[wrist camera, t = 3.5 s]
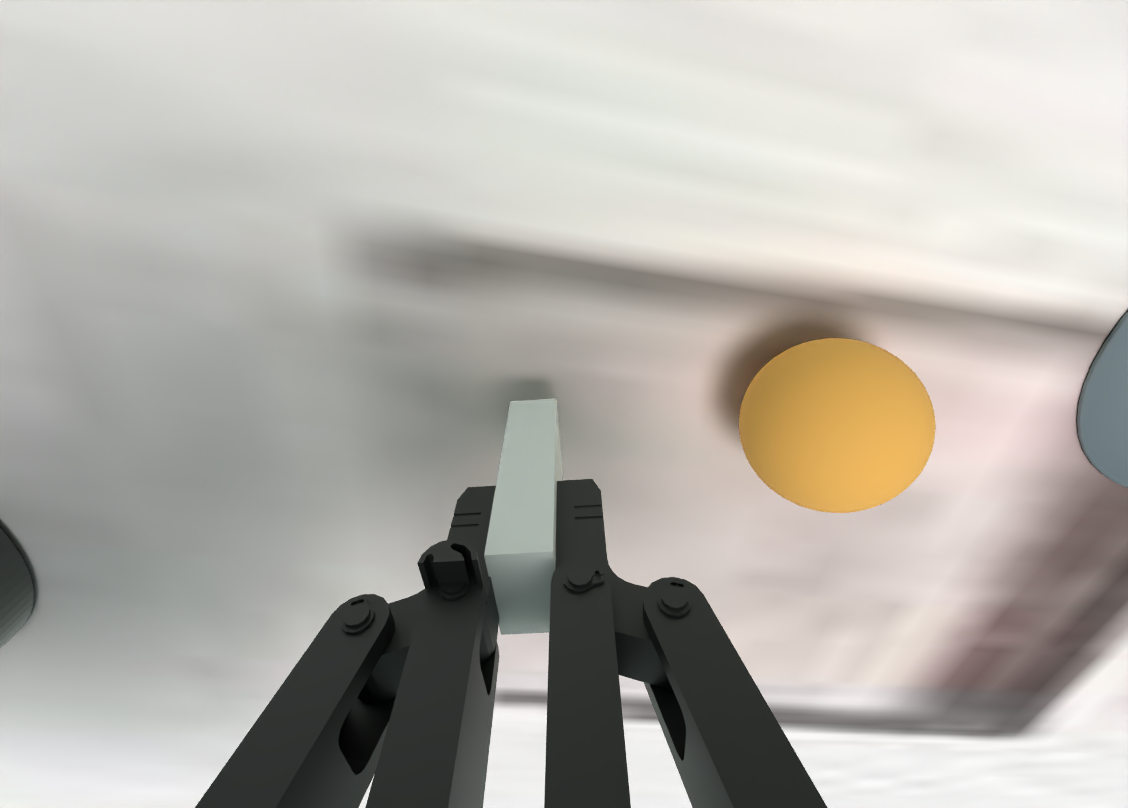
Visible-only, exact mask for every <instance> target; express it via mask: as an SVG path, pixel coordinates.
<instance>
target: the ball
mask: <svg viewBox="0 0 1128 808" xmlns="http://www.w3.org/2000/svg"><path fill="white" fill-rule="evenodd" d="M739 431H740V438H741V443H742V447H743V450H744V452H745V455H746V457H747V459H748V461H749V463H750V465H751V467H752V468H753V470H754V471H755V472H756V474H757V475H758V476H759V478H760V479H761V480H762V481H763V482H764V483H765V484H766V485H767V486H768V487H769V488H770V489H772V490H773V491H775V492H776V493H777V494H779V495H780V496H782V497H783V498H785V499H787V500H789V501H791V502H793V503H795V504H797V505H799V506H802V507H805V508H809V509H812V510H817V511H822V512H832V513H848V512H856V511H861V510H865V509H869V508H872V507H875V506H878V505H881V504H883V503H885V502H887V501H889V500H891V499H892V498H894V497H896V496H897V495H899V494H900V493H901V492H903V491H904V490H905V489H906V488H907V487H909V486H910V485H911V484H912V482H913V481H914V480H915V479H916V478H917V477H918V476H919V474H920V473H921V472H922V470H923V468H924V467H925V465H926V463H927V461H928V458H929V456H930V454H931V451H932V448H933V444H934V437H935V416H934V410H933V406H932V403H931V400H930V397H929V395H928V393H927V391H926V389H925V387H924V385H923V384H922V382H921V381H920V379H919V378H918V377H917V375H916V374H915V373H914V372H913V371H912V370H911V369H910V368H909V367H908V366H907V365H906V364H905V363H904V362H903V361H902V360H900V359H899V358H897V357H896V356H894V355H893V354H891V353H889V352H888V351H886V350H884V349H882V348H880V347H877V346H875V345H872V344H870V343H866V342H863V341H859V340H853V339H845V338H826V339H818V340H812V341H808V342H804V343H801V344H799V345H796V346H793V347H791V348H789V349H787V350H785V351H784V352H782V353H780V354H779V355H777V356H776V357H774V358H773V359H772V360H770V361H769V362H768V363H767V364H766V365H765V366H764V367H763V368H762V369H761V370H760V371H759V372H758V373H757V374H756V376H755V377H754V378H753V380H752V381H751V383H750V385H749V387H748V389H747V391H746V393H745V395H744V398H743V401H742V404H741V409H740V416H739Z"/></svg>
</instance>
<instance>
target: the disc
mask: <svg viewBox="0 0 1128 808" xmlns="http://www.w3.org/2000/svg"><path fill="white" fill-rule="evenodd" d="M1077 427H1078V437H1079V440H1080V443H1081V446H1082V449H1083V451H1084V453H1085V454H1086V456H1087V458H1088V459H1089V461H1090V462H1091V463H1092V464H1093V465H1094V466H1095V467H1096V468H1097V469H1098V470H1099V471H1100V472H1101V473H1102V474H1103V475H1105V476H1106V477H1108V478H1110V479H1111V480H1113V481H1114V482H1116V483H1117V484H1120V485H1122V486H1125V487H1127V488H1128V311H1127V313H1126V314H1125V315H1124V316H1123V317H1122V318H1121V320H1120V321H1119V322H1118V324H1117V325H1116V327H1115V328H1114V330H1113V331H1112V332H1111V334H1110V335H1109V337H1108V338H1107V339H1106V341H1105V342H1104V344H1103V346H1102V348H1101V349H1100V351H1099V353H1098V355H1097V356H1096V358H1095V360H1094V362H1093V363H1092V366H1091V368H1090V371H1089V373H1088V375H1087V378H1086V380H1085V382H1084V385H1083V389H1082V393H1081V396H1080V400H1079V405H1078V415H1077Z"/></svg>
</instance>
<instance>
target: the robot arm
mask: <svg viewBox="0 0 1128 808" xmlns="http://www.w3.org/2000/svg"><path fill="white" fill-rule="evenodd" d="M418 566H419V570H420V573H421V576H422V579H423V583H424V586H425V589H424V590H422V591H421V592H419V593H418V594H415V595H413V596H410V597H408V598H405V599H402V600H399V601H396V602H393V603H390V604H388V603H387V602H386V601H385V599H384V598H383V597H380V596H377V595H375V594H364V595H360V596H357V597H354V598H351V599H350V600H348V601H347V602H345V603H343V604H342V605H340V606H339V607H338V608H337V610H336V611H335V612H334V613H333V614H332V615H331V616H330V618H329V619H328V621H327V622H326V623H325V625H324V626H323V628H322V629H321V630H320V632H319V633H318V635H317V636H316V638H315V639H314V640H313V642H312V643H311V645H310V646H309V647H308V649H307V650H306V652H305V653H304V654H303V656H302V657H301V659H300V660H299V662H298V663H297V664H296V666H295V667H294V669H293V670H292V671H291V673H290V674H289V676H288V677H287V678H286V680H285V681H284V683H283V684H282V686H281V687H280V688H279V690H278V691H277V693H276V694H275V695H274V697H273V698H272V700H271V701H270V702H269V704H268V705H267V707H266V708H265V710H264V711H263V712H262V714H261V715H260V717H259V718H258V719H257V721H256V722H255V724H254V725H253V727H252V728H251V729H250V731H249V732H248V734H247V735H246V736H245V738H244V739H243V741H242V742H241V743H240V745H239V746H238V748H237V749H236V751H235V752H234V753H233V755H232V756H231V758H230V759H229V760H228V762H227V763H226V765H225V766H224V767H223V769H222V770H221V772H220V773H219V775H218V776H217V777H216V779H215V780H214V782H213V783H212V784H211V786H210V787H209V789H208V790H207V792H206V793H205V794H204V796H203V797H202V799H201V800H200V801H199V803H198V804H197V806H196V807H195V808H358V807H359V805H360V803H361V801H362V799H363V797H364V795H365V793H366V790H367V788H368V786H369V784H370V782H371V780H372V778H373V776H374V779H373V782H372V786H371V789H370V793H369V797H368V800H367V804H366V808H483V799H484V790H485V781H486V772H487V763H488V754H489V745H490V736H491V727H492V718H493V708H494V699H495V690H496V681H497V672H498V663H499V650H498V644H497V633H498V625H499V627H500V631H501V635H502V634H523V633H544V632H549V666H548V701H547V736H546V772H545V807H544V808H631V805H630V794H629V783H628V772H627V762H626V751H625V740H624V729H623V718H622V707H621V696H620V685H619V675H621V676H625V677H628V678H632V679H635V680H638V681H642V682H644V684H645V687H646V689H647V692H648V694H649V697H650V699H651V702H652V705H653V707H654V710H655V712H656V715H657V717H658V720H659V722H660V725H661V728H662V730H663V733H664V735H665V738H666V740H667V743H668V745H669V748H670V751H671V753H672V756H673V758H674V761H675V763H676V766H677V769H678V771H679V774H680V776H681V779H682V781H683V784H684V786H685V789H686V792H687V794H688V797H689V799H690V802H691V804H692V807H693V808H827V806H826V804H825V803H824V801H823V799H822V798H821V796H820V794H819V792H818V791H817V789H816V787H815V785H814V784H813V782H812V780H811V779H810V777H809V775H808V773H807V772H806V770H805V768H804V767H803V765H802V763H801V761H800V760H799V758H798V756H797V755H796V753H795V751H794V749H793V748H792V746H791V744H790V743H789V741H788V739H787V737H786V736H785V734H784V732H783V730H782V729H781V727H780V725H779V724H778V722H777V720H776V718H775V717H774V715H773V713H772V712H771V710H770V708H769V706H768V705H767V703H766V701H765V700H764V698H763V696H762V694H761V693H760V691H759V689H758V687H757V686H756V684H755V682H754V681H753V679H752V677H751V675H750V674H749V672H748V670H747V669H746V667H745V665H744V663H743V662H742V660H741V658H740V657H739V655H738V653H737V651H736V650H735V648H734V646H733V645H732V643H731V641H730V639H729V638H728V636H727V634H726V632H725V631H724V629H723V627H722V626H721V624H720V622H719V620H718V619H717V617H716V615H715V614H714V612H713V610H712V608H711V607H710V605H709V603H708V602H707V600H706V598H705V596H704V595H703V593H702V592H701V591H700V590H699V589H698V588H697V587H696V586H695V585H694V584H692V583H690V582H688V581H687V580H684V579H680V578H675V577H669V578H661V579H659V580H657V581H655V582H652V583H651V584H650V586H649V587H643V586H639V585H635V584H632V583H629V582H626V581H624V580H622V579H621V578H619V577H618V576H617V575H616V574H615V573H614V572H613V571H612V570H611V568H610V566H609V564H608V560H607V553H606V542H605V532H604V521H603V510H602V500H601V490H600V489H599V488H598V486H597V485H596V484H595V482H594V481H593V479H583V480H566V481H563V464H562V453H561V442H560V432H559V421H558V411H557V400H556V398H553V399H537V400H522V401H510V406H509V412H508V418H507V424H506V430H505V436H504V441H503V447H502V453H501V459H500V465H499V471H498V477H497V483H496V486H484V487H468V488H467V489H466V490H465V492H464V493H463V494H462V495H461V496H460V498H459V499H458V500H457V504H456V508H455V512H454V517H453V520H452V523H451V528H450V531H449V535H448V539H447V540H446V541H441V542H439V543H437V544H435V545H433V546H431V547H430V548H429V549H428V550H426V551H425V552H424V553H423V554H422V556H421V558H420V559H419V561H418ZM33 603H34V589H33V584H32V580H31V576H30V573H29V571H28V568H27V566H26V564H25V562H24V560H23V558H22V557H21V555H20V553H19V552H18V550H17V549H16V547H15V546H14V544H13V543H12V542H11V540H10V539H9V538H8V537H7V535H6V534H5V533H4V532H3V531H2V530H1V528H0V648H1V647H2V646H3V645H4V644H5V643H6V642H7V641H8V640H9V639H10V638H11V637H12V636H13V635H14V634H15V633H16V632H17V631H18V630H19V629H20V628H21V627H22V626H23V625H24V624H25V622H26V621H27V619H28V618H29V616H30V613H31V611H32V607H33ZM374 774H375V775H374Z"/></svg>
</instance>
